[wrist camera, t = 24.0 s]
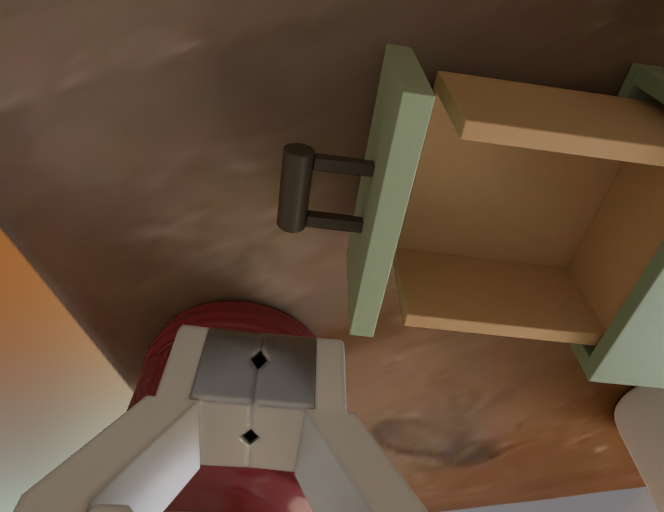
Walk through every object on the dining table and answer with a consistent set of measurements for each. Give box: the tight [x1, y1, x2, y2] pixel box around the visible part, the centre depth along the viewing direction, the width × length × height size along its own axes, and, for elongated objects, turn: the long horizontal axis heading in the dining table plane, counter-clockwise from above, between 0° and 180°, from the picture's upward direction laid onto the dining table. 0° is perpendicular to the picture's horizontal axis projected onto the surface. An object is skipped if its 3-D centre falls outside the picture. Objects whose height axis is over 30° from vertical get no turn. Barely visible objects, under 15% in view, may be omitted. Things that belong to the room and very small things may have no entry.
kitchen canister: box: [127, 301, 316, 512], centre depth 30 cm, size 13×13×18 cm
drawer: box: [277, 44, 664, 346], centre depth 24 cm, size 18×12×7 cm
